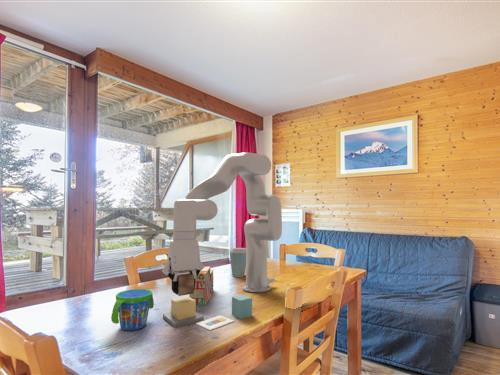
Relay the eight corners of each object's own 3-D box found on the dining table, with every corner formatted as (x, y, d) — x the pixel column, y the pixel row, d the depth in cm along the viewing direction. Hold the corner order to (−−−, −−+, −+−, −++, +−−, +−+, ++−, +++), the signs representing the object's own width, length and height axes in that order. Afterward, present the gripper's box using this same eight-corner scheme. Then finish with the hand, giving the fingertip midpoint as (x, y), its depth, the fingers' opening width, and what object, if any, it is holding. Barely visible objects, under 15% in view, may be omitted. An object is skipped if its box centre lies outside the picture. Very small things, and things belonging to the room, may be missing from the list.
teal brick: (243, 311, 107) (243, 294, 108) (251, 315, 103) (252, 297, 104) (231, 314, 104) (231, 296, 105) (239, 318, 100) (240, 300, 101)
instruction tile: (220, 316, 103) (220, 314, 103) (234, 321, 98) (234, 320, 98) (195, 324, 95) (195, 322, 95) (209, 330, 91) (209, 329, 91)
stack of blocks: (199, 290, 135) (199, 262, 136) (213, 290, 135) (213, 262, 135) (188, 305, 113) (189, 272, 114) (205, 306, 113) (205, 272, 114)
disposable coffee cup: (226, 274, 166) (227, 246, 167) (245, 273, 169) (245, 246, 170) (231, 278, 156) (231, 249, 156) (251, 277, 159) (251, 248, 160)
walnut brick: (187, 290, 104) (187, 272, 104) (193, 293, 100) (194, 275, 100) (173, 292, 101) (173, 274, 101) (179, 296, 97) (179, 276, 97)
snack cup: (141, 315, 103) (142, 285, 103) (164, 321, 98) (165, 289, 98) (99, 332, 89) (100, 297, 90) (123, 340, 84) (124, 302, 85)
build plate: (190, 311, 107) (190, 293, 107) (203, 320, 99) (204, 301, 99) (162, 317, 101) (163, 298, 101) (174, 327, 93) (175, 306, 93)
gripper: (202, 234, 109) (201, 285, 108) (155, 236, 99) (154, 292, 98) (212, 235, 103) (211, 290, 102) (164, 238, 93) (162, 298, 92)
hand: (183, 290), depth 100 cm, fingers closed on walnut brick, 5 cm apart
